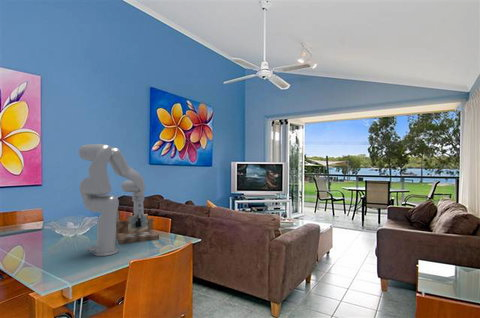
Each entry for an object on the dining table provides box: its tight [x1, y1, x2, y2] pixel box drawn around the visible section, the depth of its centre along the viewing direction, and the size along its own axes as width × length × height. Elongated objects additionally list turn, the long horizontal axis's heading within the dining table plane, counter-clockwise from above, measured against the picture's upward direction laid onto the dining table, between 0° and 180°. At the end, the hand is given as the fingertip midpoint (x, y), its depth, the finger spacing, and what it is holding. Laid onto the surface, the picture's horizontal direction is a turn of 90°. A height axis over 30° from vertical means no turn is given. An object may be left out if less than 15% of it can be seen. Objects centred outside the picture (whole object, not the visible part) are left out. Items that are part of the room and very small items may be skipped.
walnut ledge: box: [116, 217, 160, 245], centre depth 179 cm, size 24×20×10 cm
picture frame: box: [127, 213, 149, 232], centre depth 178 cm, size 12×5×10 cm, turn 120°
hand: (138, 226), depth 178 cm, fingers closed on picture frame, 2 cm apart
